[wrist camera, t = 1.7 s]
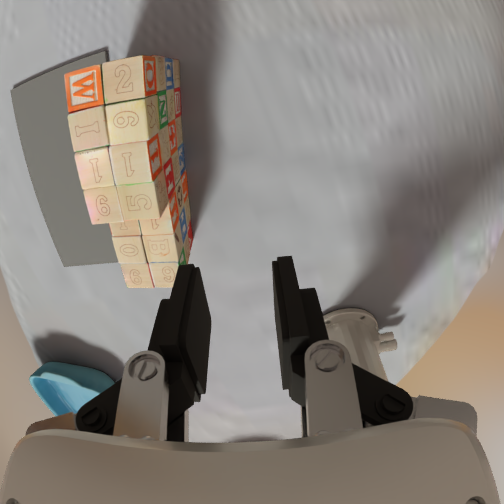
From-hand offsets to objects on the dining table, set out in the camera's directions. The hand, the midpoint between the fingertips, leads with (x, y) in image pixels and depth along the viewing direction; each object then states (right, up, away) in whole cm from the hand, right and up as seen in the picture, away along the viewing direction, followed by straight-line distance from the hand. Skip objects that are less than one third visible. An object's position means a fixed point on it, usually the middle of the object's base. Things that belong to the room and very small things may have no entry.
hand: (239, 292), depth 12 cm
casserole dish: (-37, -33, +49) cm, 69 cm away
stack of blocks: (-10, +12, +20) cm, 25 cm away
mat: (-21, +11, +20) cm, 31 cm away
